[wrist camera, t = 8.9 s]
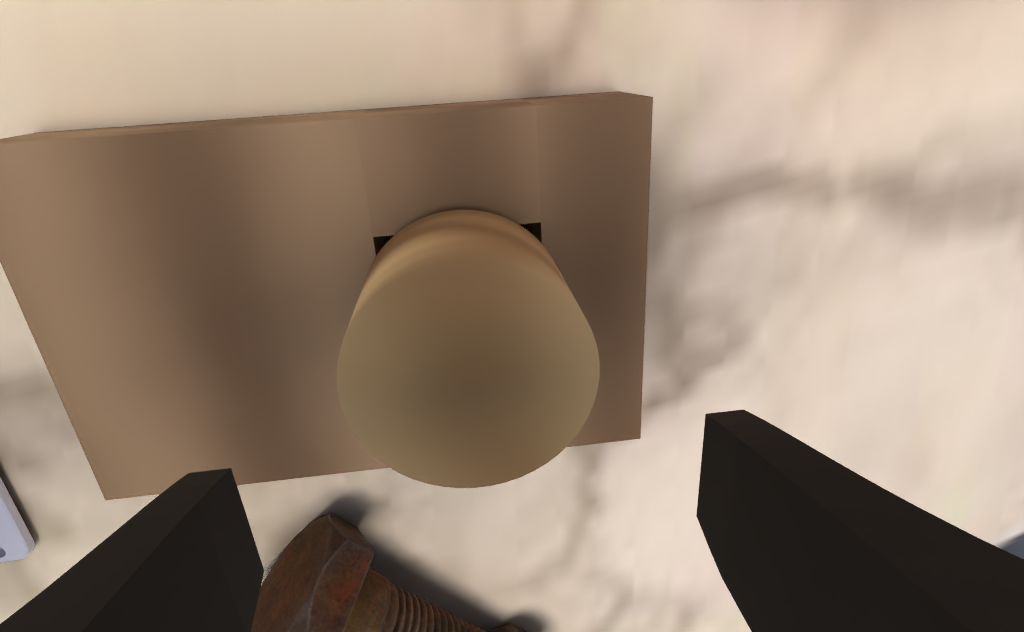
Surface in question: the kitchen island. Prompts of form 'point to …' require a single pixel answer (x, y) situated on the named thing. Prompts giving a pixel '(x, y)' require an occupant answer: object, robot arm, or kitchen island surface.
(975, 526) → the kitchen island surface
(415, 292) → the oak peg
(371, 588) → the bolt
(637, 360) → the brown flat rectangular block
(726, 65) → the kitchen island surface
